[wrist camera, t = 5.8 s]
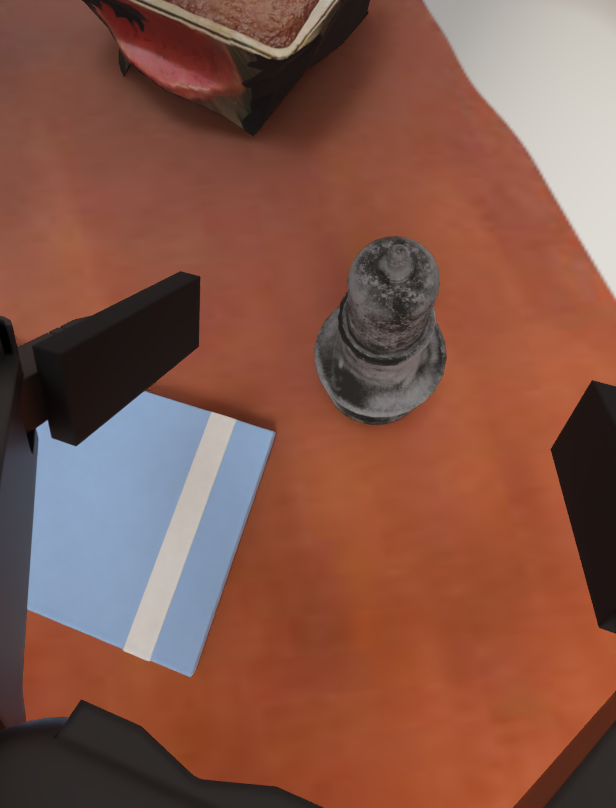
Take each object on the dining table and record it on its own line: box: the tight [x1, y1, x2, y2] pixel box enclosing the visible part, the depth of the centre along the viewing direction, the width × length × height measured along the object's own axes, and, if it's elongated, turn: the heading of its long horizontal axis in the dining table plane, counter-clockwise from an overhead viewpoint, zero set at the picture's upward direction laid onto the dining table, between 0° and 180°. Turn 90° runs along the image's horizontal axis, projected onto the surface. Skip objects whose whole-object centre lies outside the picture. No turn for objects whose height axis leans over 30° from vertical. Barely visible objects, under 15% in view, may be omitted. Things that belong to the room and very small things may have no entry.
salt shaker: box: [314, 236, 446, 425], centre depth 18 cm, size 6×6×12 cm
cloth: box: [27, 391, 276, 677], centre depth 23 cm, size 12×20×1 cm, turn 72°
